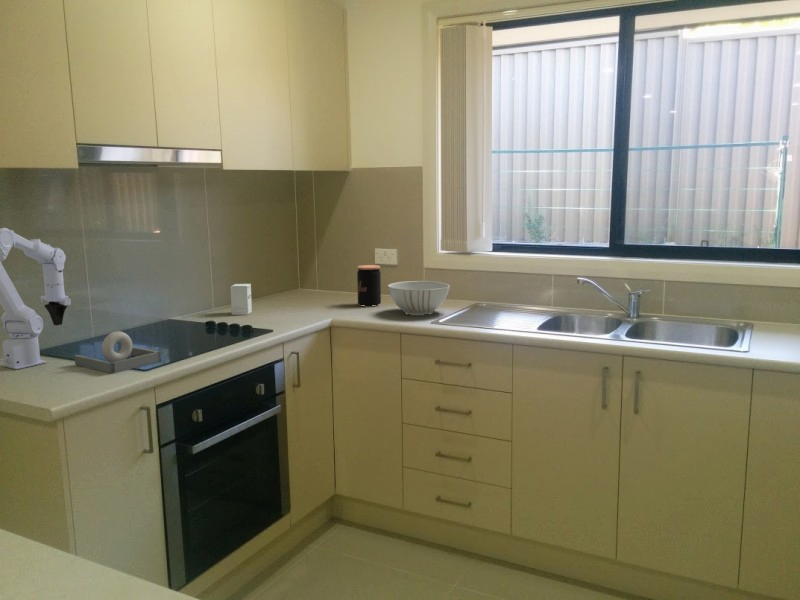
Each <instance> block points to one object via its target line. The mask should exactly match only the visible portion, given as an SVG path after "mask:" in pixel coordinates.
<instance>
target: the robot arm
mask: <svg viewBox="0 0 800 600" xmlns="http://www.w3.org/2000/svg"><path fill="white" fill-rule="evenodd" d="M12 248H15V249H18V250H21V251H23V253H24V255H25V256H26V257H29V258H31V259H33V260H35V261H37V262H38V264H39V265H40V266H42V273H43V285H44V295H40V302H42V303H44V302H46V303H47V304H44V308H45V309H46V310H47V312H48V315H49V316H50V319H51V321H52V322H51V323H52V324H53V326H62V325H63V319H64V314H65V311H66V310H67V308H68V306H71V305H72V302H71V301H72V300H71V298H69V295H66V293H65V283H64V272H63V270H64V268H65V262H66V260H67V256H66V254H65V252H64V250H63V249H61V248H60V247H53V246H51V244H49V243H45V242H42V241H41V239H40V238H34V239H33V238H32V239H27V238H25V237H23V236H22V235H19V234H17V233H16V232H15V231H14V230H12V229H9V228H7V227H1V228H0V306H1V307H2V309H3V311H4V312H3V313H2V315H1V317H0V320H1V322H2V325H3V329H4V332H5V333H6V334H8V339H5V340H3V342H2V345H1V347H2V356H3V357H2V358H3V364H2V366H3V367H7V368H10V369H13V370H19V369H25V368H28V367H33V366H38V365H42V364H46V363H47V361H46V360H43V359H41V354H40V353H41V352H40V343H39V342H40V341H39V336H40V335H41V333H42V331H43V329H44V321H43V320H44V319H43V318H42V317H41V316H40V315H38V314H37V313H36V310H34V309H33V308H31V307H28V306H27V305H26V304H25V303H24V301H23V299H22V298H21V296H20V295H19V292H18V290H17V289H16V286H15V285H14V284H13V281H12V280H11V278H10V276H9V275H8V272H7V270H6V269H5V267H4V265H3V263H2V262H3V261H5V260H6V259H7V257H8V255H9V253H10V251H11V249H12Z"/></svg>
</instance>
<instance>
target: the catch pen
mask: <svg viewBox="0 0 800 600" xmlns="http://www.w3.org/2000/svg"><path fill="white" fill-rule="evenodd" d="M73 356H74V365H75V366H79V367H83V368H87V369H91V370H94V371H99V372H103V373H108V374H116V373H120V372H125V371H127V370H132V369H135V368H141V367H143V366H148V365H151V364H152V365H153V364H156V363H158V362H161V361H162V359H161V358H162V357H161V351H157V350H152V349H147V348H143V347H138V346H134V345H132V351H131V354H130V355H129V357H128V358H127V359H125V360H121V361H117V362H113V363H112V362H109V361H108V360H103V359H102V360H101V359H99V358H93V357H90V356H85V355H80V354H74V355H73Z"/></svg>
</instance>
